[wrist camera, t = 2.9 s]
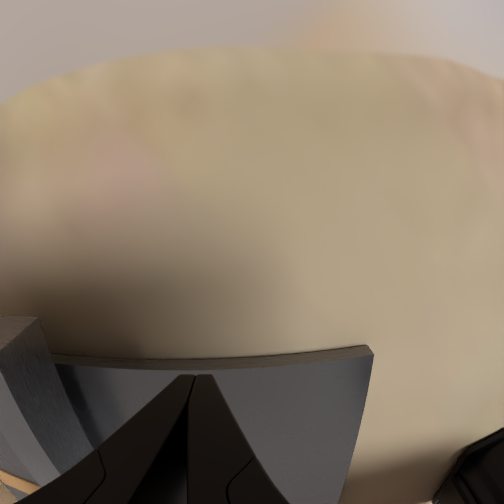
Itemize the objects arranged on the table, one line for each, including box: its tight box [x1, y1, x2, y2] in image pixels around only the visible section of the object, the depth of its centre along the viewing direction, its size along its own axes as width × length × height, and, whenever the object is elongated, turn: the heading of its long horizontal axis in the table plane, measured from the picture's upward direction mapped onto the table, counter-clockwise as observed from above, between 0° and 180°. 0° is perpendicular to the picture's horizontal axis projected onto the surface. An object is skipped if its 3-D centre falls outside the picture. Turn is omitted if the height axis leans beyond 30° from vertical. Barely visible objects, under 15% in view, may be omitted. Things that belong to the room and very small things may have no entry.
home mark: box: [0, 470, 41, 494], centre depth 11 cm, size 6×2×1 cm, turn 93°
